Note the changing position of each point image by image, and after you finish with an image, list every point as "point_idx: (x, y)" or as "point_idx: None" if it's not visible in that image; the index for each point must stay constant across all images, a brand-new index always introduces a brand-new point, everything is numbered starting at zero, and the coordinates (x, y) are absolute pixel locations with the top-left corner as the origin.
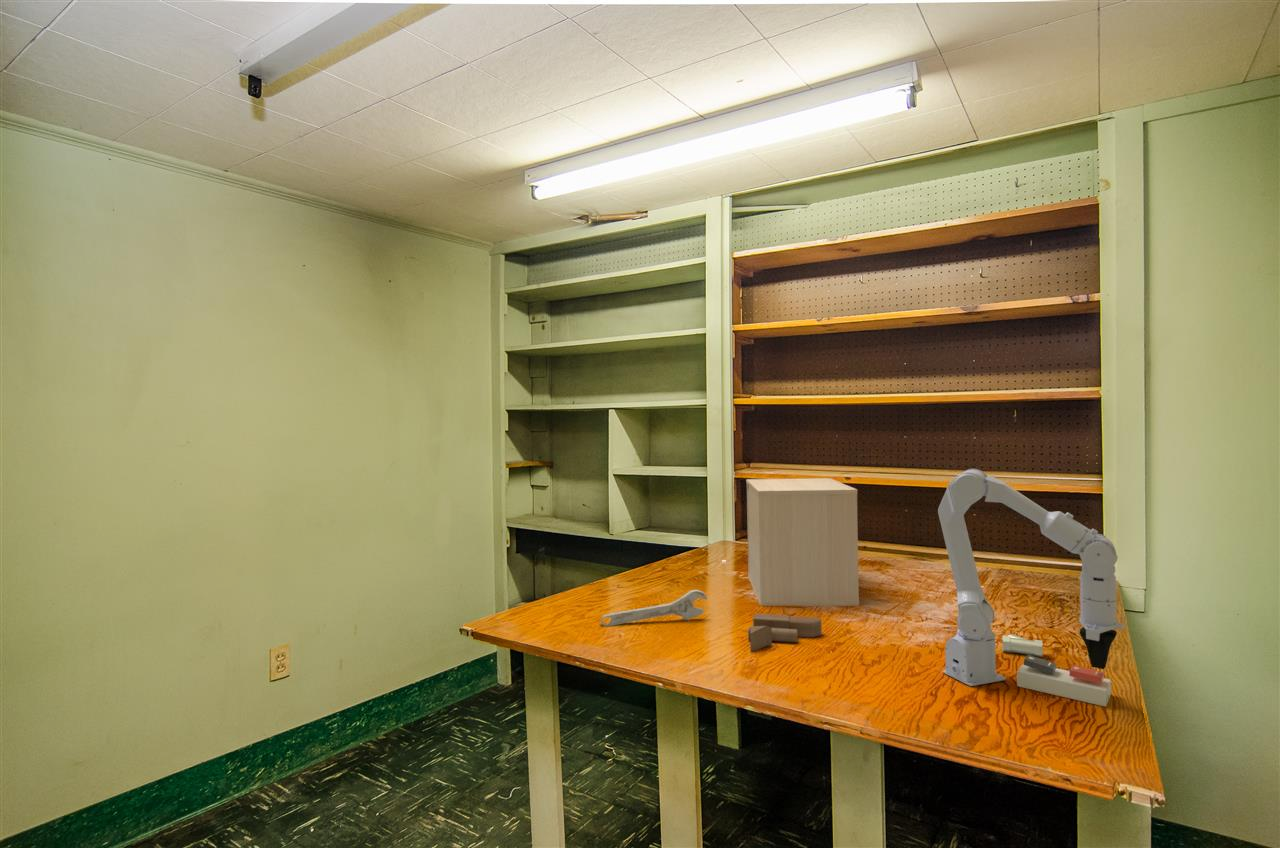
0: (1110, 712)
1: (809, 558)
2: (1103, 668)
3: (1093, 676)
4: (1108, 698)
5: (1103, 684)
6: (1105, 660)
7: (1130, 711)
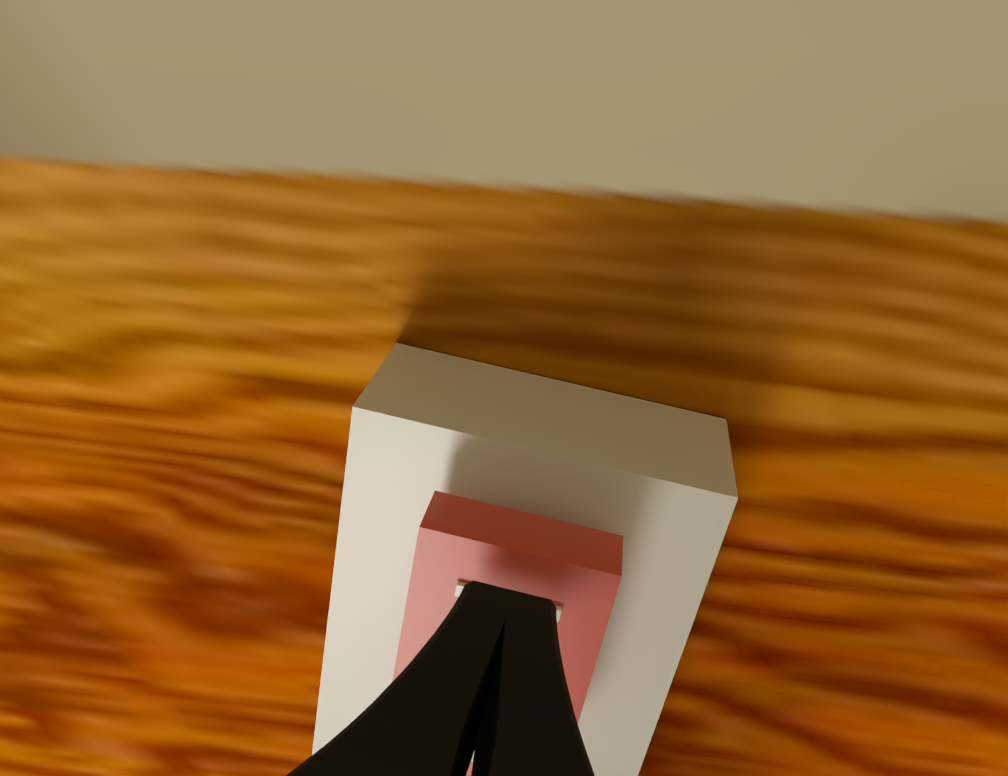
0: (847, 402)
1: None
2: (555, 612)
3: (603, 630)
4: (560, 389)
5: (543, 489)
6: (561, 681)
7: (749, 240)
